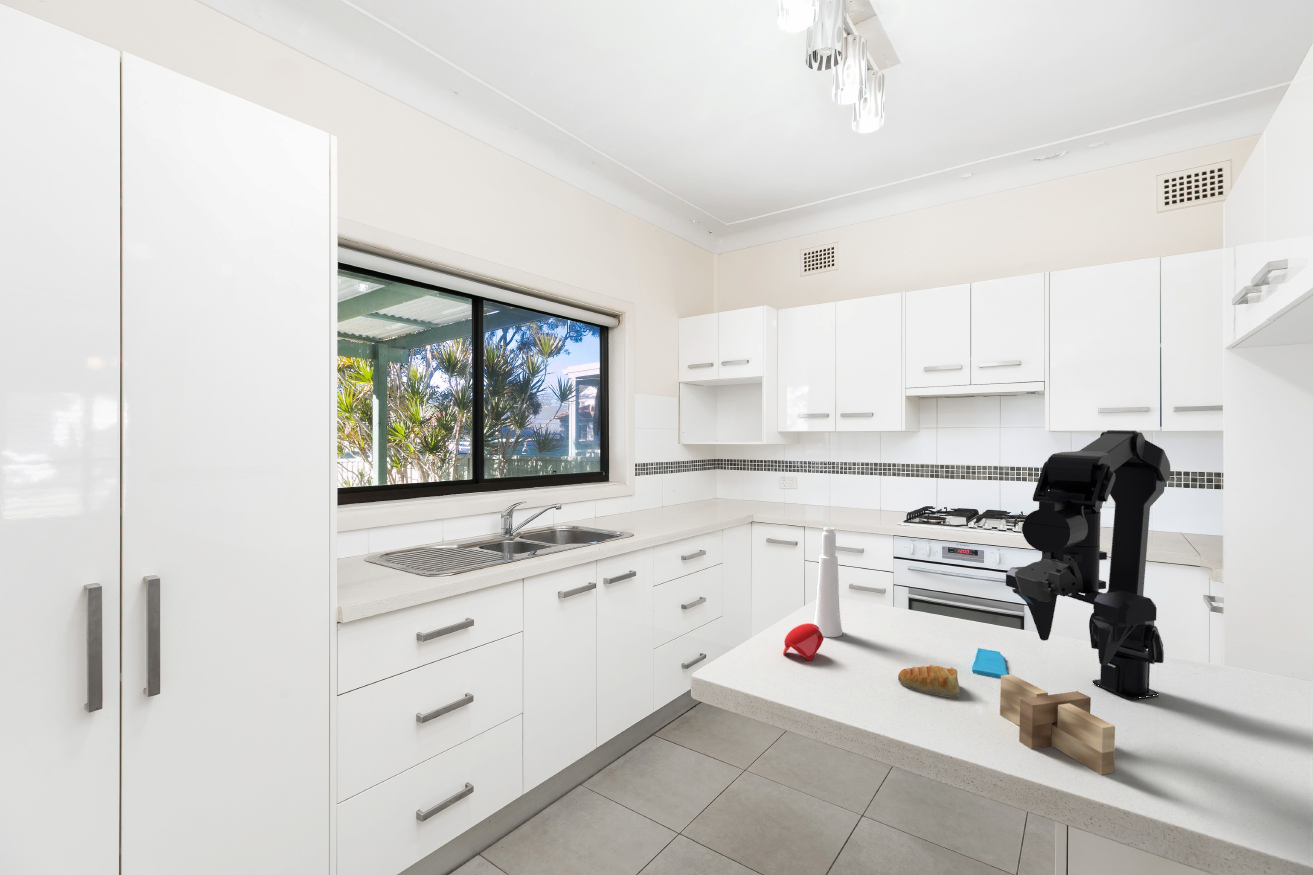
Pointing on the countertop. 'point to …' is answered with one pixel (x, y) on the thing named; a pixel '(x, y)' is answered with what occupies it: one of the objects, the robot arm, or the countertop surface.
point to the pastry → (931, 680)
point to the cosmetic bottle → (828, 588)
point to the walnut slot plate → (1045, 716)
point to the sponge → (989, 663)
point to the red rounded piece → (804, 640)
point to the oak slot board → (1065, 726)
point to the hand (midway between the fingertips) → (1072, 651)
